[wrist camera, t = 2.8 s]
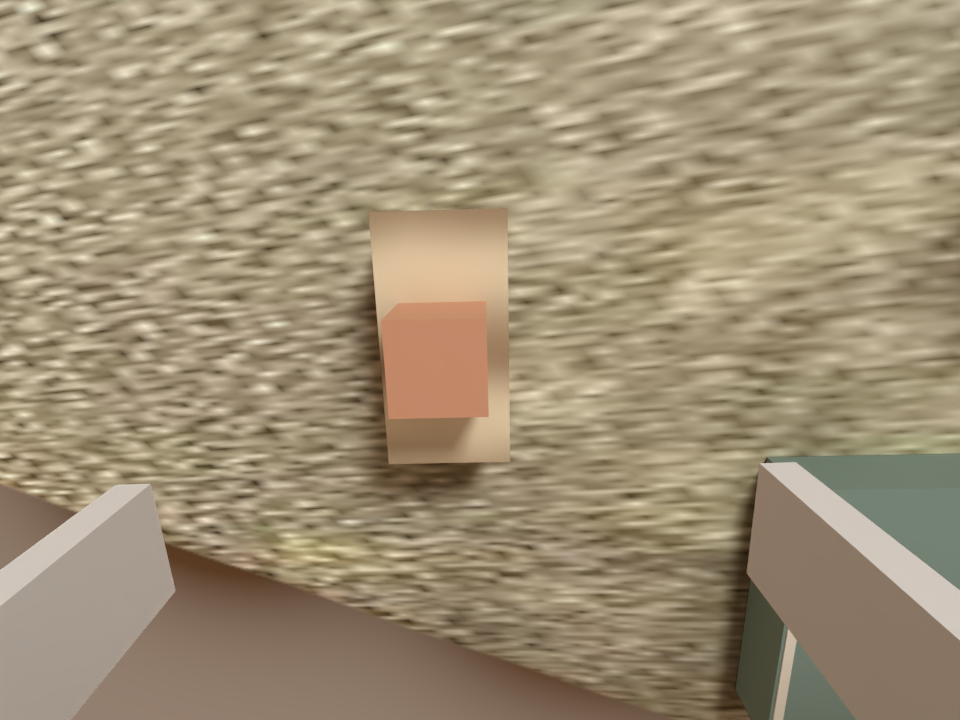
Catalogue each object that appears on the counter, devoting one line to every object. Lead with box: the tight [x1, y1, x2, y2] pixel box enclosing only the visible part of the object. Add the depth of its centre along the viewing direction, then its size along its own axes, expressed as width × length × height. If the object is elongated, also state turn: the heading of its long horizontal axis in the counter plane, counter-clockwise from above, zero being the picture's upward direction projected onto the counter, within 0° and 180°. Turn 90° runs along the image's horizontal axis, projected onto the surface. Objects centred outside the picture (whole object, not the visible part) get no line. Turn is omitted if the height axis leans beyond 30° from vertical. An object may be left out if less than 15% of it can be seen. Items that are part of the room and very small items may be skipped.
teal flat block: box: [735, 454, 960, 720], centre depth 31 cm, size 18×14×6 cm
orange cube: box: [381, 301, 489, 419], centre depth 22 cm, size 4×4×4 cm
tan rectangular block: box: [369, 208, 510, 464], centre depth 27 cm, size 12×6×6 cm, turn 1°
